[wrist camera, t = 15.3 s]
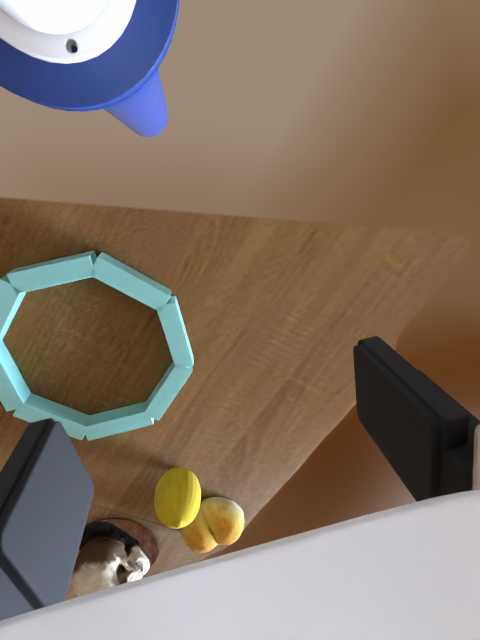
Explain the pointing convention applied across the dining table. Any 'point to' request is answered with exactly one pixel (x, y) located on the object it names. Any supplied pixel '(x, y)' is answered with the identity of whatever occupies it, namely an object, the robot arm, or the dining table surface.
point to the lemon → (177, 497)
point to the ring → (7, 292)
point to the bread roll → (213, 525)
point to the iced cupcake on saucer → (112, 555)
